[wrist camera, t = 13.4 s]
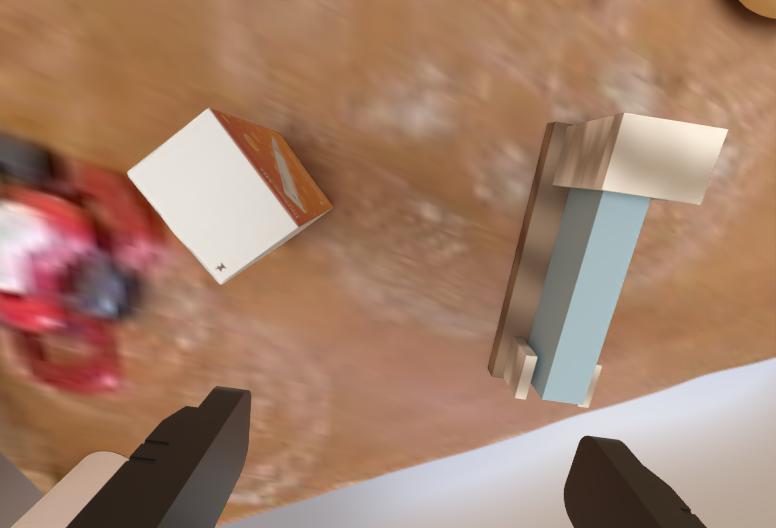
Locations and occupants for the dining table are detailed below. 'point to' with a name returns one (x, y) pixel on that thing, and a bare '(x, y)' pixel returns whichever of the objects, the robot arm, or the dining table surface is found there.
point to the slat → (582, 289)
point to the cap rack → (596, 172)
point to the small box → (229, 191)
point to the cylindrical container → (72, 492)
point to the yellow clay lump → (761, 7)
